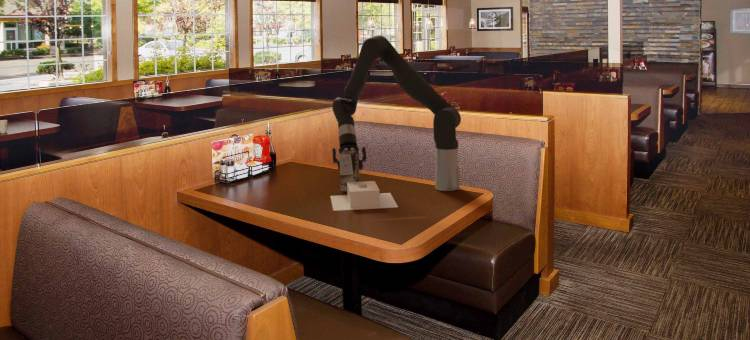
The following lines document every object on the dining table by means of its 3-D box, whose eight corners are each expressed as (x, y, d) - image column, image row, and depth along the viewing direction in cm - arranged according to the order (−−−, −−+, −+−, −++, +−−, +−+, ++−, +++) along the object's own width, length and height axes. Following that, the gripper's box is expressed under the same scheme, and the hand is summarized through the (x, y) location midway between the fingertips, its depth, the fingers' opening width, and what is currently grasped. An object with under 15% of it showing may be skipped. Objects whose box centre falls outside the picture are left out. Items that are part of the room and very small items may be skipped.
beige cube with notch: (375, 195, 242) (374, 180, 241) (379, 205, 229) (379, 190, 227) (347, 197, 241) (346, 182, 240) (350, 207, 228) (349, 191, 226)
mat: (390, 194, 246) (390, 192, 246) (398, 208, 227) (398, 207, 227) (330, 197, 243) (330, 195, 243) (333, 212, 224) (333, 210, 224)
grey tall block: (355, 192, 249) (354, 153, 245) (340, 192, 250) (338, 153, 247) (360, 186, 258) (359, 149, 254) (345, 186, 259) (344, 149, 255)
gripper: (330, 133, 257) (333, 166, 249) (364, 131, 259) (368, 164, 250) (330, 143, 264) (333, 175, 255) (363, 141, 265) (367, 173, 257)
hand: (350, 170), depth 253 cm, fingers closed on grey tall block, 7 cm apart
